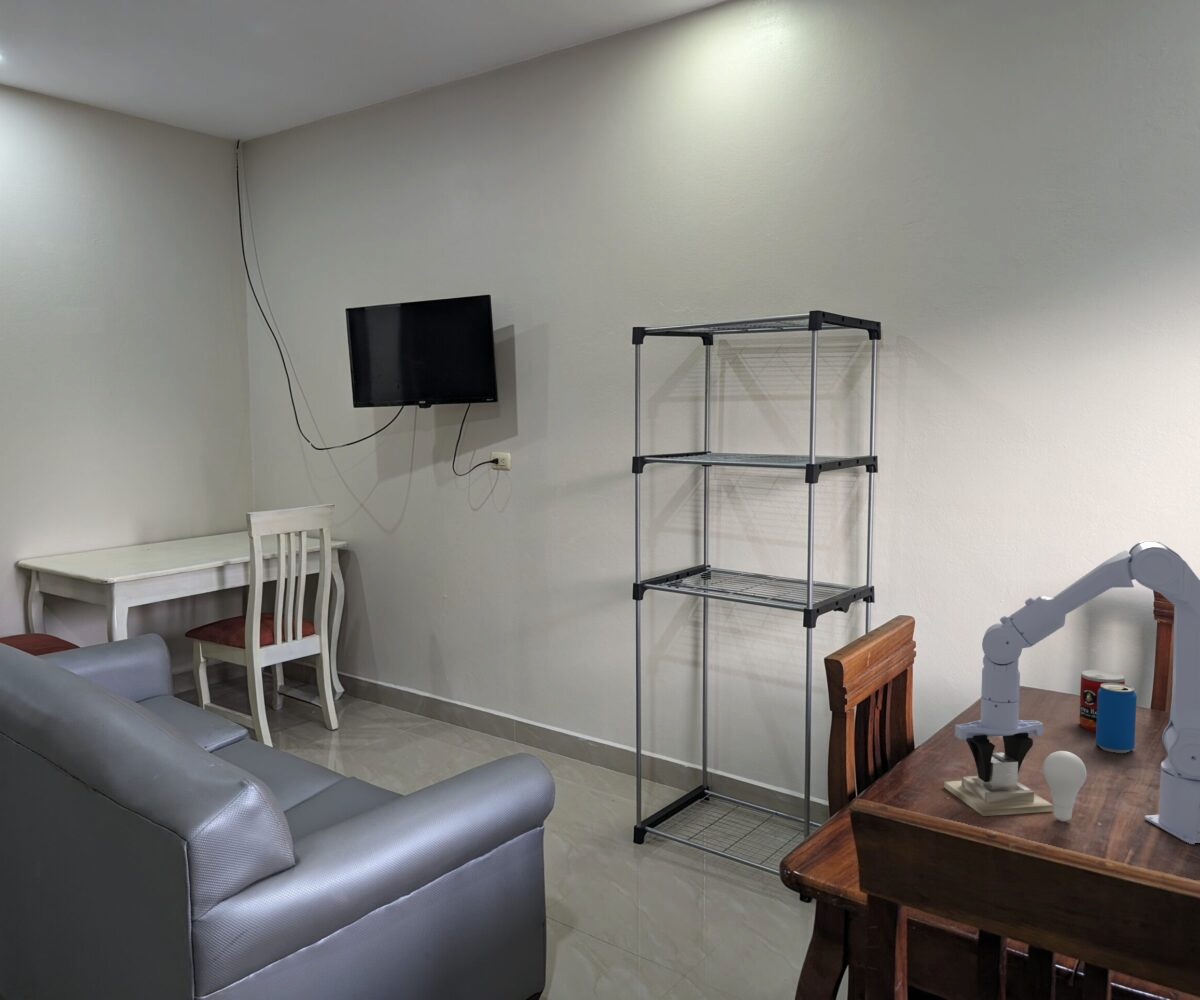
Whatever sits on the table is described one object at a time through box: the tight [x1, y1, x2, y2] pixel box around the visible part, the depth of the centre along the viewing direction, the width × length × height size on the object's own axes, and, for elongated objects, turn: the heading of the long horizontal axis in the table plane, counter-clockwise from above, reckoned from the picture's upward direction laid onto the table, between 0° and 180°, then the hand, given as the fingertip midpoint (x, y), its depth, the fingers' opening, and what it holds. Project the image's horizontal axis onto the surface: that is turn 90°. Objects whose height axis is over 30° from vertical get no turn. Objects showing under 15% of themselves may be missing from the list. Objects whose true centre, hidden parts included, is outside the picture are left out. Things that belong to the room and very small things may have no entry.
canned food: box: [1078, 669, 1126, 732], centre depth 192 cm, size 8×8×11 cm
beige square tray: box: [943, 775, 1054, 817], centre depth 156 cm, size 12×12×2 cm
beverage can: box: [1095, 683, 1138, 754], centre depth 179 cm, size 6×6×12 cm
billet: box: [976, 751, 1019, 792], centre depth 155 cm, size 4×4×5 cm
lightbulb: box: [1042, 750, 1087, 822], centre depth 147 cm, size 6×6×11 cm
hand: (997, 778), depth 155 cm, fingers closed on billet, 4 cm apart
